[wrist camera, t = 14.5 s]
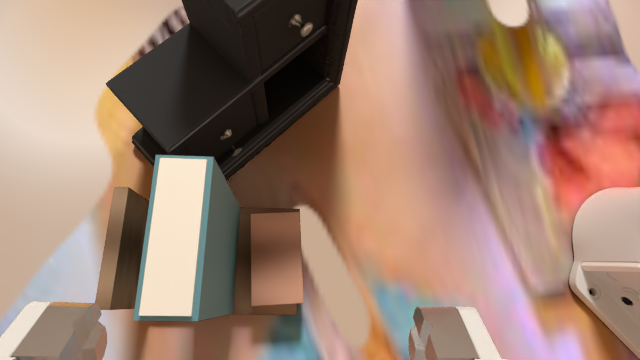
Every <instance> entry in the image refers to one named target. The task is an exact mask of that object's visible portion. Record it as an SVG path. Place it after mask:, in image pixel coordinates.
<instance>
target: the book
mask: <svg viewBox="0 0 640 360" xmlns="http://www.w3.org/2000/svg"><path fill="white" fill-rule="evenodd" d="M240 209H241V207H240V205H239V203H238V201H237V199H236V197H235V196H234V194H233V192H232V190H231V188H230V186H229V184H228V183H227V181H226V179H225V177H224V175H223V173H222V171H221V170H220V168H219V166H218V164H217V162H216V160H215V159H214V157H205V156H177V155H156V157H155V164H154V172H153V179H152V186H151V193H150V201H149V208H148V215H147V222H146V230H145V237H144V244H143V251H142V259H141V266H140V273H139V280H138V287H137V295H136V302H135V309H134V316H133V320H143V321H201V320H206V319H210V318H215V317H220V316H224V315H229V314H233V307H234V293H235V279H236V265H237V251H238V237H239V223H240Z"/></svg>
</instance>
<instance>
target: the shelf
mask: <svg viewBox="0 0 640 360" xmlns="http://www.w3.org/2000/svg"><path fill="white" fill-rule="evenodd" d="M148 208H149V201H148V200H146V199H145V198H143V197H142V196H140V195H139V194H138V193H136V192H135V191H133V190H132V189H130V188H129V187H114V191H113V197H112V203H111V209H110V216H109V222H108V228H107V234H106V240H105V246H104V252H103V258H102V264H101V270H100V276H99V282H98V288H97V295H96V301H95V304H98V305H99V308H100V310H116V309H135V302H136V295H137V287H138V280H139V273H140V266H141V259H142V251H143V244H144V237H145V230H146V222H147V215H148ZM297 303H304V300H303V277H302V254H301V231H300V209H279V208H242V207H241V209H240V223H239V237H238V251H237V265H236V279H235V293H234V307H233V314H262V315H297Z"/></svg>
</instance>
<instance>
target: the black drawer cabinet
mask: <svg viewBox="0 0 640 360" xmlns="http://www.w3.org/2000/svg"><path fill="white" fill-rule="evenodd" d="M357 1H358V0H182V3H183V5H184V8H185V11H186V14H187V16H188V19H189V21H190V23H189V24H187V25H186V26H184V27H183V28H182V29H180V30H179V31H178V32H176V33H175V34H173V35H172V36H171V37H169V38H168V39H166V40H165V41H164V42H162V43H161V44H159V45H158V46H157V47H155V48H154V49H153V50H151V51H150V52H148V53H147V54H145V55H144V56H143V57H141V58H140V59H138V60H137V61H136V62H134V63H133V64H131V65H130V66H129V67H127V68H126V69H125V70H123V71H122V72H120V73H119V74H118V75H116V76H115V77H113V78H112V79H111V80H109V81H108V82H107V83H106V85H107V86H108V87H109V89H110V90H111V91H112V92H113V93H114V94H115V96H116V97H117V98H118V99H119V100H120V101H121V102H122V103H123V104H124V106H125V107H126V108H127V109H128V110H129V111H130V112H131V113H132V114H133V116H134V117H135V118H136V119H137V120H138V121H139V122H140V123H141V124H142V126H143V127H142V128H141V129H140V130H138V131H137V132H136V133H135V134H134V135H133V136H132V143H133V144H134V145H135V146H136V147H137V148H138V150H139V151H140V152H141V153H142V154H143V155H144V156H145V157H146V159H147V160H148V161H149V162H150V163H151V164H152V165H153V166H154V164H155V157H156V155H177V156H205V157H214V159H215V160H216V162H217V164H218V166H219V168H220V170H221V171H222V173H223V175H224V177H225V179H226V180H227V179H229V178H230V177H231V176H232V175H233V174H234V173H236V172H237V171H238V170H239V169H240V168H242V167H244V166H245V164H246V163H247V162H248V161H250V160H251V159H252V158H254V157H255V156H256V155H257V154H258V153H260V152H261V151H262V150H263V149H264V148H265V147H266V146H268V145H270V144H271V143H272V141H274V140H275V139H276V138H277V137H278V136H279V135H281V134H282V133H283V132H284V131H285V130H286V129H288V128H289V127H290V126H291V125H292V124H293V123H295V122H296V121H297V120H298V119H299V118H301V117H302V116H303V115H304V114H305V113H307V112H308V111H309V110H310V109H311V108H312V107H314V106H315V105H316V104H317V103H318V102H319V101H321V100H322V99H323V98H324V97H325V96H326V95H328V94H329V93H330V92H331V91H332V90H333V89H335V88H336V87H337V86H338V85H339V84H340V80H341V75H342V71H343V66H344V61H345V56H346V52H347V48H348V43H349V38H350V33H351V29H352V24H353V19H354V14H355V10H356V5H357Z"/></svg>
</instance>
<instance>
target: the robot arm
mask: <svg viewBox="0 0 640 360" xmlns="http://www.w3.org/2000/svg"><path fill="white" fill-rule="evenodd" d="M572 240H573V250H574V263H573V266H572V269H571V273H570V278H569V284H570V287H571V289H572V291H573V292H574V293H575V294H576V295H577V296H578V297H579V298H580V299H581V300H582V301H583V302H584V303H585V304H586V305H587V306H588V307H589V308H590V309H591V310H592V311H593V312H594V313H595V314H596V315H597V316H598V317H599V318H600V319H601V320H602V321H603V322H604V324H605V325H606V326H607V327H608V328H609V329H610V330H611V331H612V332H613V333H614V334H615V335H616V336H617V337H618V338H619V339H620V340H621V341H622V342H623V343H624V344H625V345H626V346H627V347H628V348H629V349H630V350H631V351H632V352H633V353H634V354H635V355H636V356H637V357H638V358H639V359H640V187H632V188H623V187H615V188H608V189H604V190H601V191H599V192H597V193H595V194H593V195H592V196H591V197H589V198H588V199H587V200H586V201H585V202H584V203H583V205H582V206H581V207H580V209H579V211H578V213H577V215H576V218H575V221H574V225H573V233H572ZM589 289H591V291H592V295H590V293H589ZM100 316H101V311H100V308H99V305H98V304H94V303H70V302H31V303H30V304H28V305H26V306H25V308H24V309H23V310H22V311H21V313H20V314H19V315H18V316H17V317H16V319H15V320H14V321H13V322H12V324H11V325H10V326H9V327H8V329H7V330H6V331H5V332H4V334H3V335H2V336H1V337H0V360H102V358H103V356H104V353H105V349H106V345H107V333H106V329H105V326H103V325H102V324H101V323H100V322H98V320H99V318H100ZM413 319H414V322H415V326H414V327H413V328H411V329H410V334H409V355H410V360H508V359H502V358H501V356H500V355H499V353H498V351H497V349H496V347H495V345H494V343H493V341H492V339H491V337H490V335H489V333H488V331H487V329H486V327H485V325H484V323H483V321H482V319H481V318H480V316H479V314H478V312H477V310H476V309H475V308H474V307H417V308H416V309H415V312H414V316H413Z"/></svg>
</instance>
